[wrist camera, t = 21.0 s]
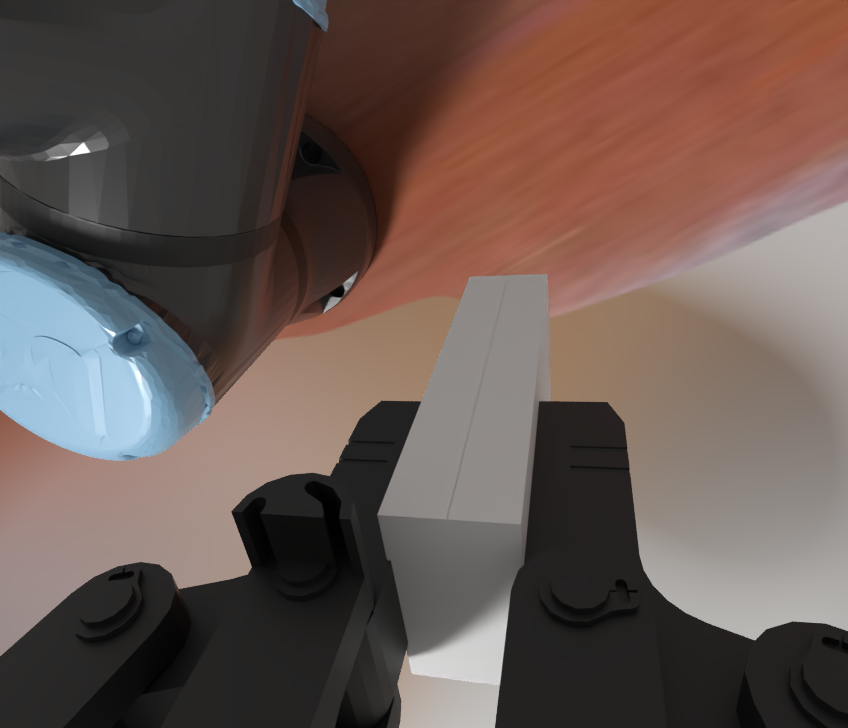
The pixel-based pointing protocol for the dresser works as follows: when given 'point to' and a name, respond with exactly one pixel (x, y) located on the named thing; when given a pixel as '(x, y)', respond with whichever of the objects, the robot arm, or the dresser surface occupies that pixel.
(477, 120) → the dresser surface
